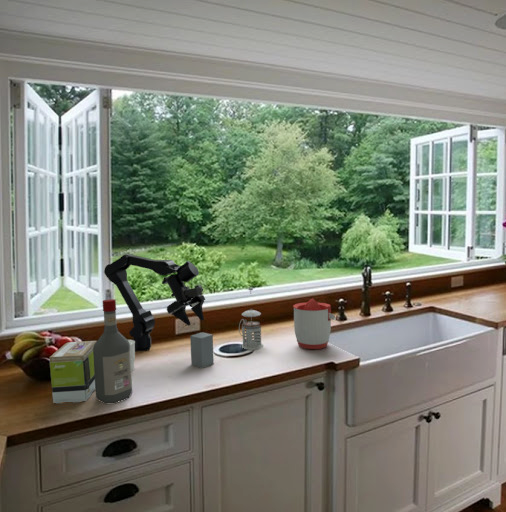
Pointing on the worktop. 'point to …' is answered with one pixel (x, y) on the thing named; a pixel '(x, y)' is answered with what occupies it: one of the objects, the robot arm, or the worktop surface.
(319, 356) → the worktop surface
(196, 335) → the grey tall block
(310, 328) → the citrus juicer
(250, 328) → the french press
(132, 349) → the white cup
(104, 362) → the liquor
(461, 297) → the worktop surface
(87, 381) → the tea box
